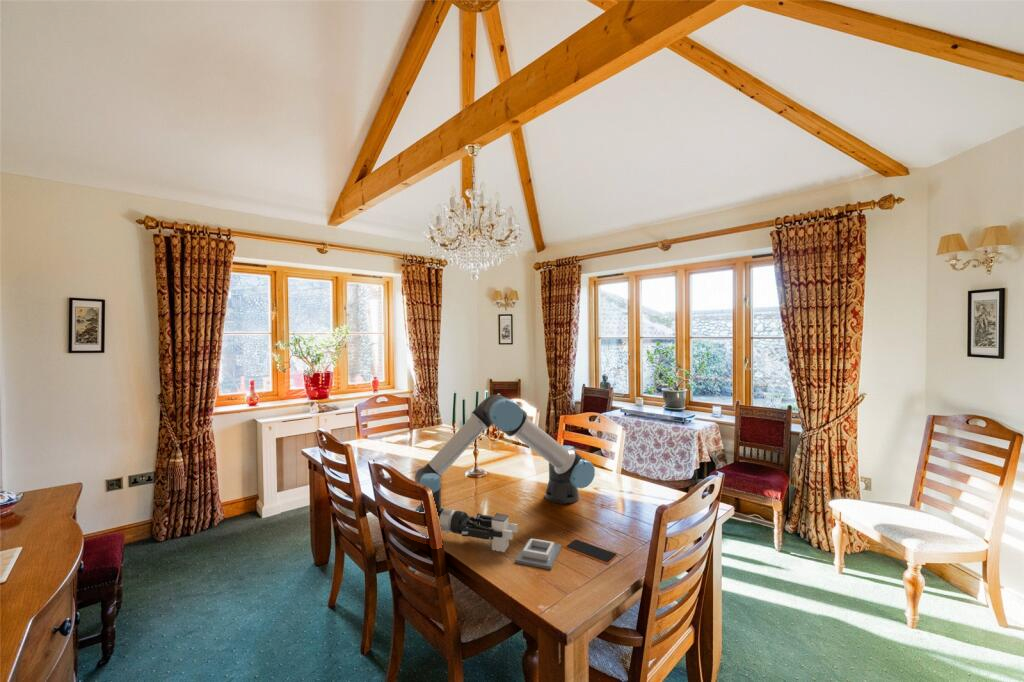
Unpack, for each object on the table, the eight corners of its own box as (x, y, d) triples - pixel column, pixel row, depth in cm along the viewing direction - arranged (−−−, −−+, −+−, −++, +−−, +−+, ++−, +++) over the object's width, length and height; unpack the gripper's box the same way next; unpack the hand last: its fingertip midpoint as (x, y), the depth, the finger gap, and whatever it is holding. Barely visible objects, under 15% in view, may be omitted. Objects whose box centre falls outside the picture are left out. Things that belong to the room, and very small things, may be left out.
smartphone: (575, 540, 150) (575, 538, 150) (618, 556, 140) (618, 553, 140) (563, 549, 144) (563, 546, 144) (608, 566, 134) (608, 563, 134)
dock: (528, 542, 149) (528, 533, 149) (561, 547, 145) (561, 539, 144) (515, 562, 136) (515, 553, 136) (550, 569, 131) (550, 560, 131)
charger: (496, 543, 148) (496, 513, 148) (508, 545, 146) (508, 514, 146) (491, 549, 144) (491, 518, 143) (504, 552, 142) (503, 520, 142)
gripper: (465, 521, 159) (523, 530, 151) (442, 543, 143) (505, 555, 135) (465, 501, 159) (522, 510, 151) (441, 521, 143) (505, 532, 135)
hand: (514, 531), depth 143 cm, fingers closed on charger, 4 cm apart
